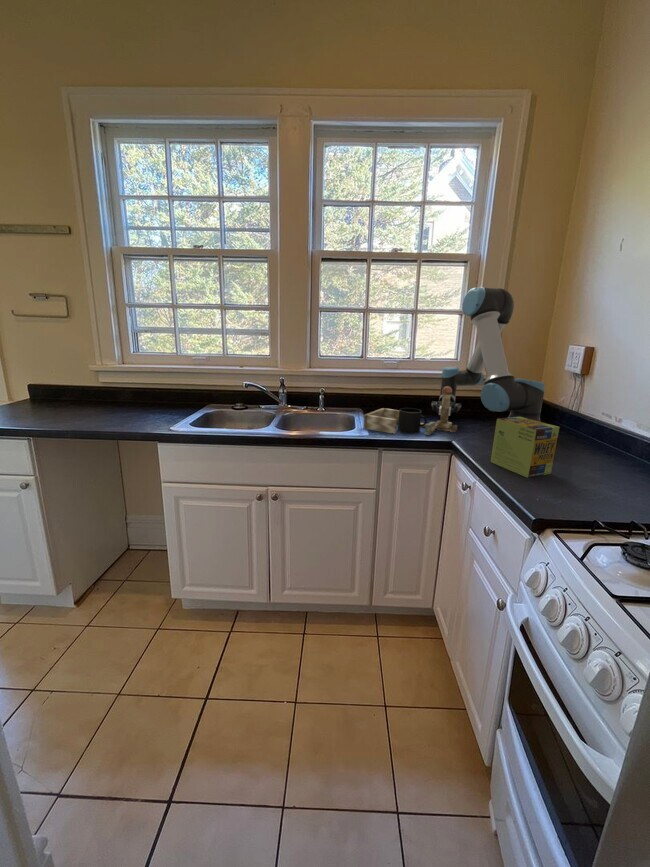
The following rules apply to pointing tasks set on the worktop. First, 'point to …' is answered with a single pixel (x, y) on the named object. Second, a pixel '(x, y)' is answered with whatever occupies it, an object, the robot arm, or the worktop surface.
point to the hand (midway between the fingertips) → (444, 412)
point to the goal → (382, 420)
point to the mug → (410, 420)
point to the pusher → (444, 413)
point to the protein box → (524, 446)
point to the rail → (452, 429)
